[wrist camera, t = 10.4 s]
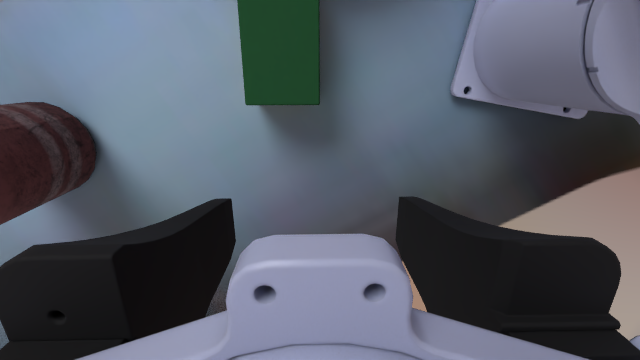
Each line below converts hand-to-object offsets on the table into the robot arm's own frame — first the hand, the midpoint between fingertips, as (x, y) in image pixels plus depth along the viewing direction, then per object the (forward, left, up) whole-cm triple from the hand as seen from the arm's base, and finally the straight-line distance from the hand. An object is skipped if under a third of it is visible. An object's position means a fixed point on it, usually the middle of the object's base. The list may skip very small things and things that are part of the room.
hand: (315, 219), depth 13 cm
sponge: (+3, -7, -9) cm, 12 cm away
